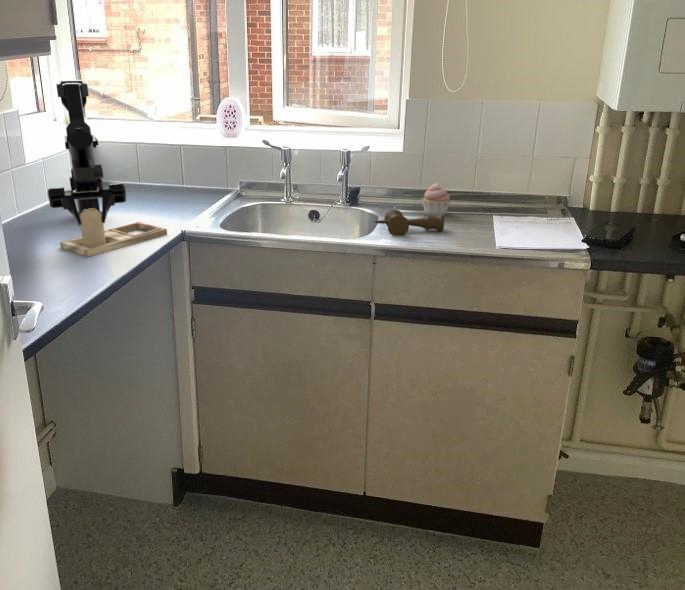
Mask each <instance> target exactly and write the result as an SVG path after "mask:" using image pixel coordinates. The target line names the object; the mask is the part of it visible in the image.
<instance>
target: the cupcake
mask: <svg viewBox="0 0 685 590" xmlns="http://www.w3.org/2000/svg"><path fill="white" fill-rule="evenodd" d="M420 200H421V202H422V205H423V211H424V215H425V216H426V215H428V216H430V217H435V216H438V215H440V214H442V215H443V217H445V216H446V214H447V211H448V208H449V206H450V204H451V202H452V199H450V194H449V193H448V191H447V190H446V188H444V187H442V186H440V183H439V182H435V183H433V184H432V185H431V186H430V187H429V188H428V189H427V190H426V191H425V192H424V196H423V197H422V198H421V199H420Z"/></svg>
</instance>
